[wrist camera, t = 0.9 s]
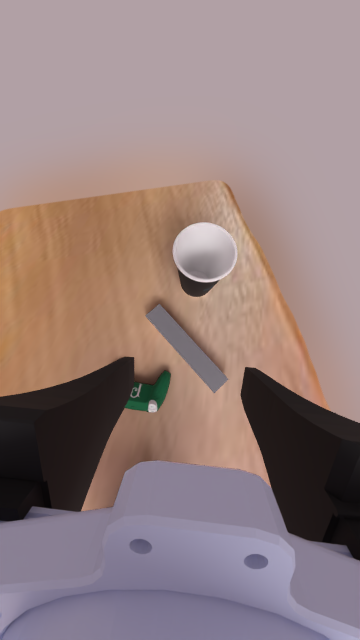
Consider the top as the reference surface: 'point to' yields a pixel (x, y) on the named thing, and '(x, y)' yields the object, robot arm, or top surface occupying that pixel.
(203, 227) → the dixie cup
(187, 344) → the bar
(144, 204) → the top surface
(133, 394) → the gaming controller
